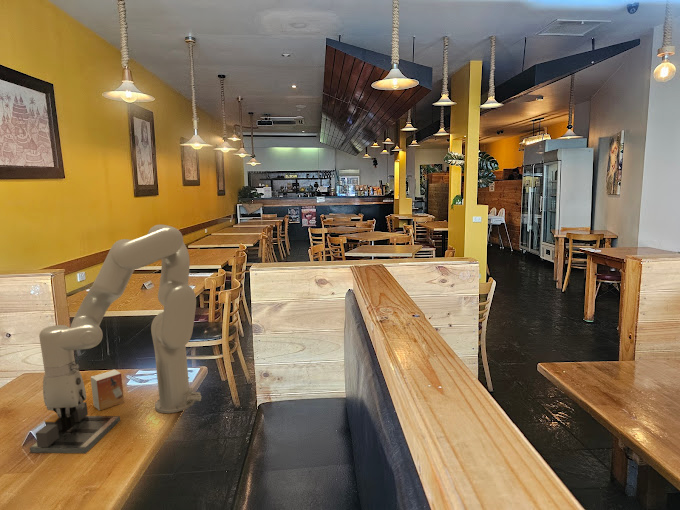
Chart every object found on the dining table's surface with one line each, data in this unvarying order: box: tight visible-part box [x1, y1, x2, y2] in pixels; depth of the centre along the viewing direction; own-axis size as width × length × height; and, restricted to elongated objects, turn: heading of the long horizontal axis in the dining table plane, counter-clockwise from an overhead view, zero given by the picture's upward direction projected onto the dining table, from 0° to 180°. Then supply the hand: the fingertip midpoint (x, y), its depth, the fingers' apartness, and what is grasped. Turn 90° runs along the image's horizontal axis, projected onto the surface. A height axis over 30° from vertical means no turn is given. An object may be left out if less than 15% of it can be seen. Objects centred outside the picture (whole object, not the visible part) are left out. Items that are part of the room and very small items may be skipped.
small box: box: [90, 369, 125, 412], centre depth 147 cm, size 8×6×10 cm
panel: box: [29, 415, 121, 454], centre depth 129 cm, size 16×17×2 cm
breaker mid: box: [44, 412, 62, 432], centre depth 128 cm, size 3×4×4 cm
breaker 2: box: [74, 401, 89, 422], centre depth 135 cm, size 3×4×4 cm
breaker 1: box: [35, 424, 59, 447], centre depth 122 cm, size 3×4×4 cm
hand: (68, 427), depth 128 cm, fingers closed
